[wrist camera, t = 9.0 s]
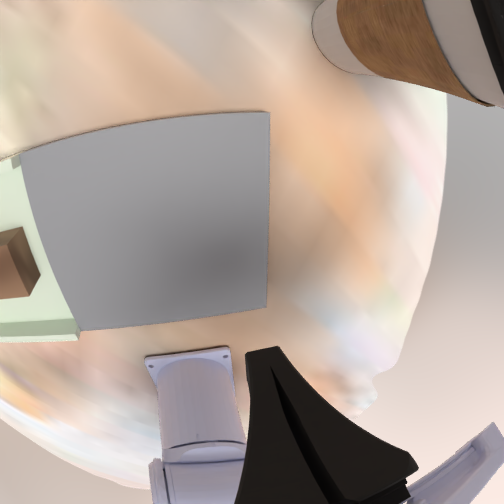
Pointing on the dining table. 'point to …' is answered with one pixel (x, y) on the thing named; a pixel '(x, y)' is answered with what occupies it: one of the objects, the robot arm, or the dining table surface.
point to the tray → (46, 289)
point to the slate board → (156, 218)
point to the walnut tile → (16, 265)
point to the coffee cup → (419, 43)
